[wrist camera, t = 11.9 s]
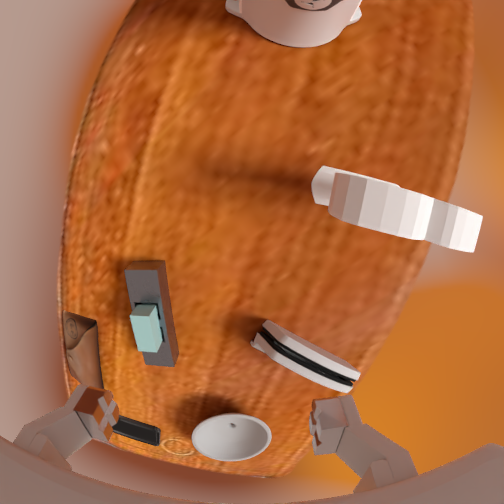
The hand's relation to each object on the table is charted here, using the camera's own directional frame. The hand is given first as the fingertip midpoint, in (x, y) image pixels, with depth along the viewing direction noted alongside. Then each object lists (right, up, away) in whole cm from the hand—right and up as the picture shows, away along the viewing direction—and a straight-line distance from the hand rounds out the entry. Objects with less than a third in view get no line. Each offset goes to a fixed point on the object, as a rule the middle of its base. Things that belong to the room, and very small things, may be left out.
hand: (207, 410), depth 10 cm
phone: (-26, -33, +42) cm, 60 cm away
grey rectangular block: (-13, -3, +32) cm, 34 cm away
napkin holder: (+10, -9, +34) cm, 36 cm away
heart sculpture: (+16, +14, +26) cm, 34 cm away
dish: (-2, -27, +40) cm, 48 cm away
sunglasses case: (-30, -13, +35) cm, 48 cm away
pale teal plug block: (-13, -3, +31) cm, 34 cm away
